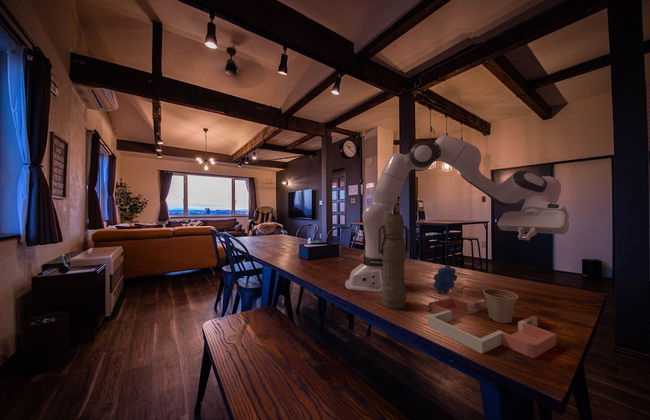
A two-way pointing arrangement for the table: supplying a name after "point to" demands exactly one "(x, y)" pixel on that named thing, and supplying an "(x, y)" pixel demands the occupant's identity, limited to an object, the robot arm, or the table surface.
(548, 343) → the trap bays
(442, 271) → the grapes
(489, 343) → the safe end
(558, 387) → the table surface
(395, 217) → the thermos
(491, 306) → the flower pot
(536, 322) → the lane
